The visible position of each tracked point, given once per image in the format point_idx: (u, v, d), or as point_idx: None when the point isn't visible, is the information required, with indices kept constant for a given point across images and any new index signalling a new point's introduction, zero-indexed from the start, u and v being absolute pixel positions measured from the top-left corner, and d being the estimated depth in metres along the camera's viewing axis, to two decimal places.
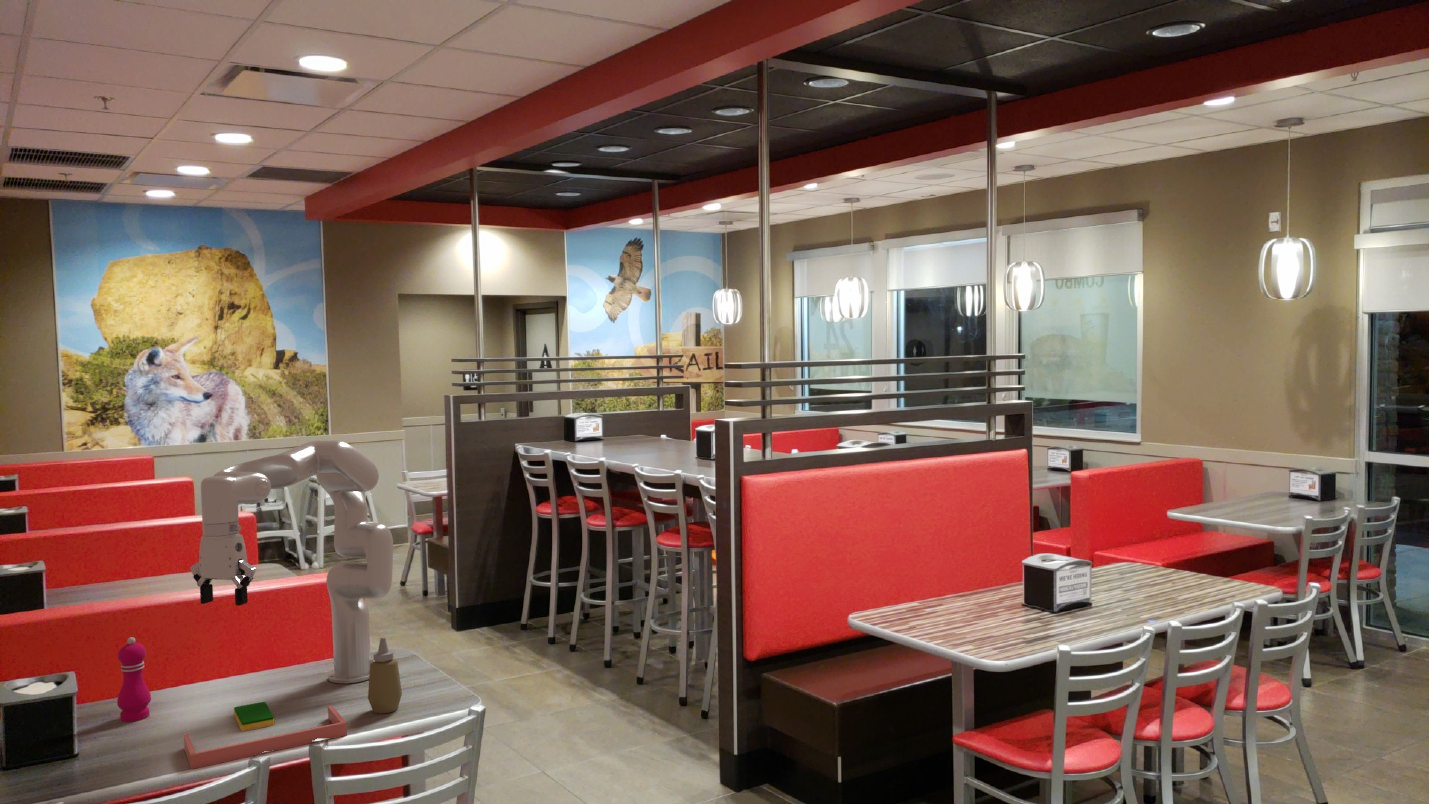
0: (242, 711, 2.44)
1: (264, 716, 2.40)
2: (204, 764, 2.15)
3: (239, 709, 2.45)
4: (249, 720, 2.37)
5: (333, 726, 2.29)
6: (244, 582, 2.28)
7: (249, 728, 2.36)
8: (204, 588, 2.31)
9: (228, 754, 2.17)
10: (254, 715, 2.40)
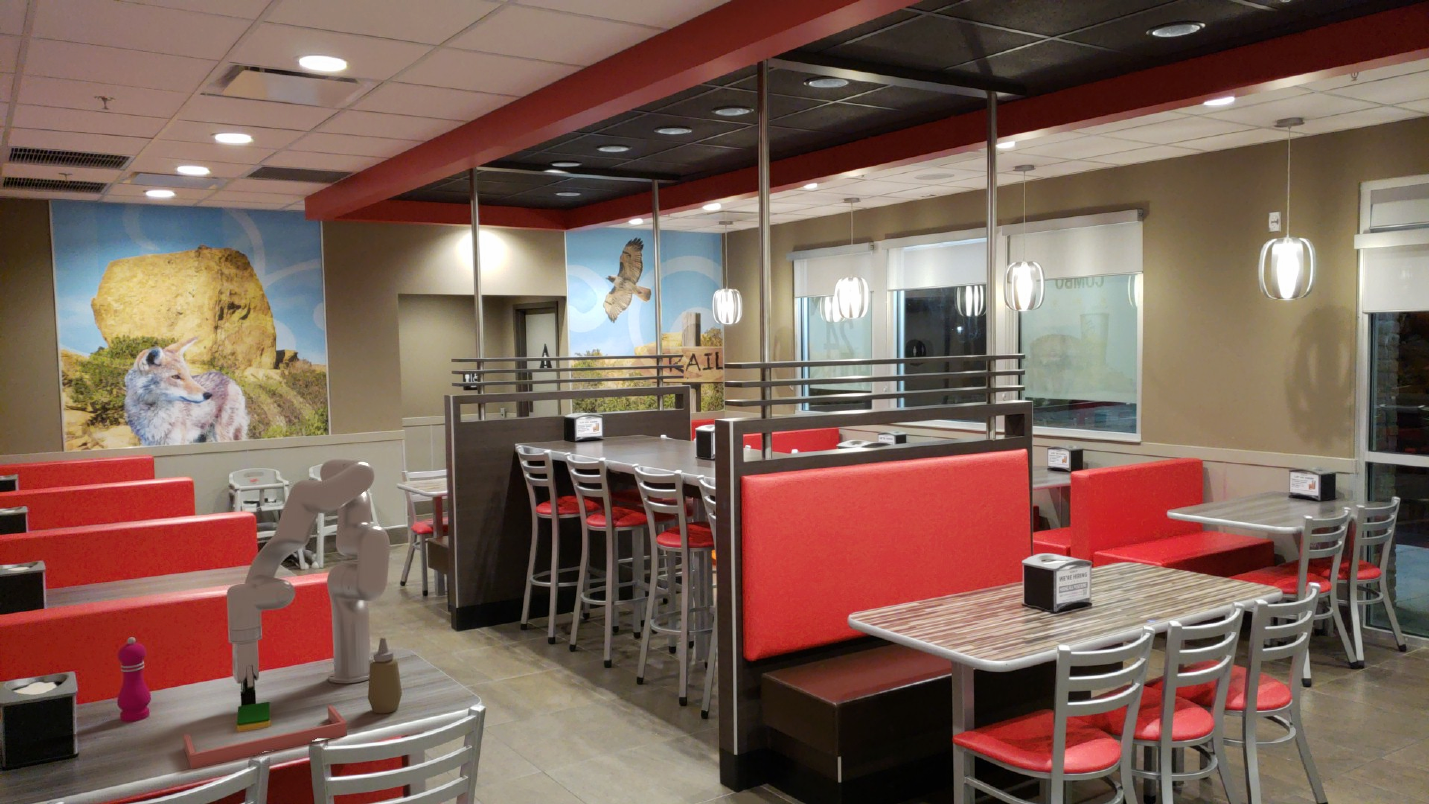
0: (243, 711, 2.44)
1: (261, 717, 2.39)
2: (204, 764, 2.15)
3: (242, 708, 2.45)
4: (245, 721, 2.36)
5: (333, 726, 2.29)
6: None
7: (244, 729, 2.36)
8: None
9: (228, 754, 2.17)
10: (252, 716, 2.40)
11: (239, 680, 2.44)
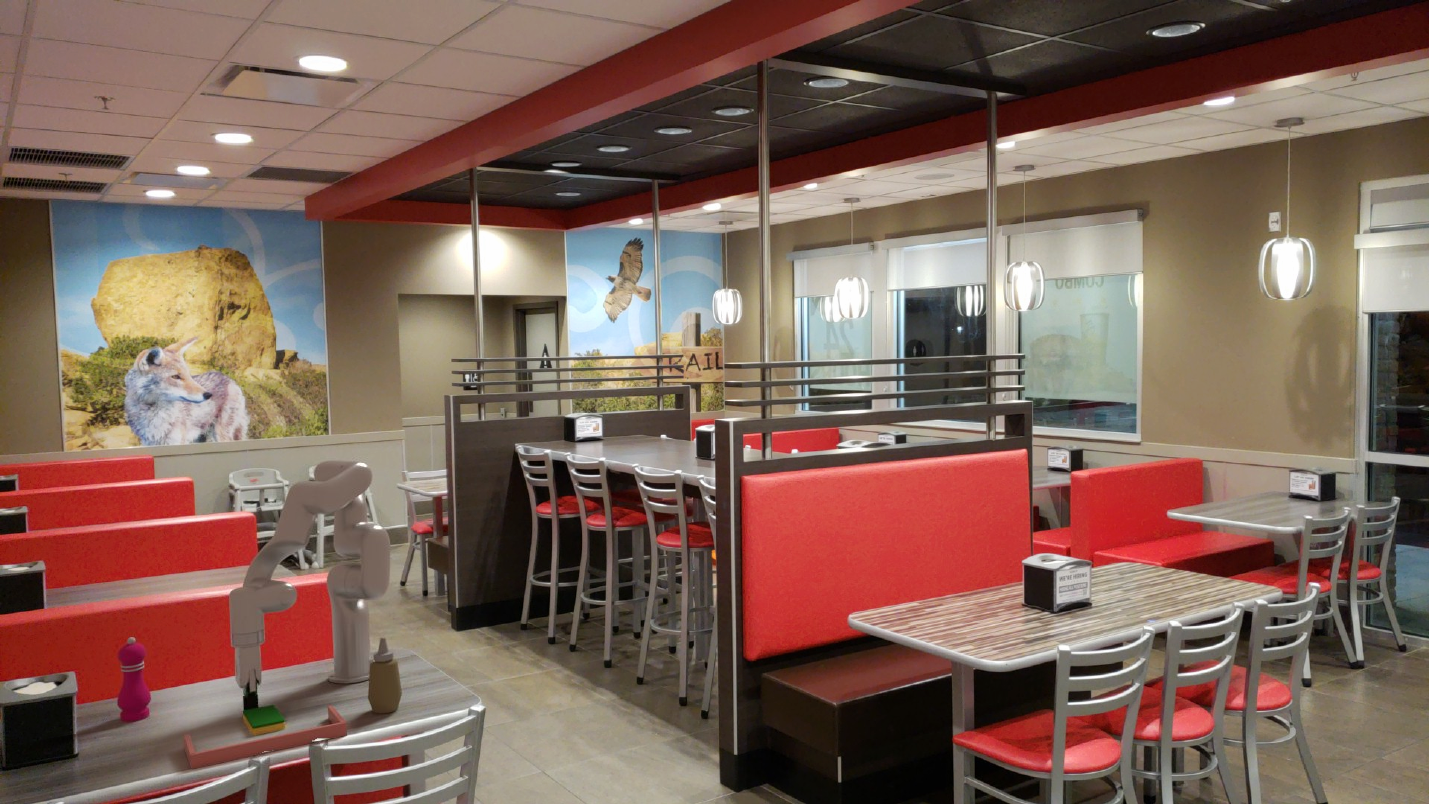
0: (252, 714, 2.40)
1: (275, 719, 2.37)
2: (204, 764, 2.15)
3: (248, 712, 2.42)
4: (260, 723, 2.34)
5: (333, 726, 2.29)
6: None
7: (260, 732, 2.33)
8: None
9: (228, 754, 2.17)
10: (264, 718, 2.37)
11: (241, 684, 2.41)
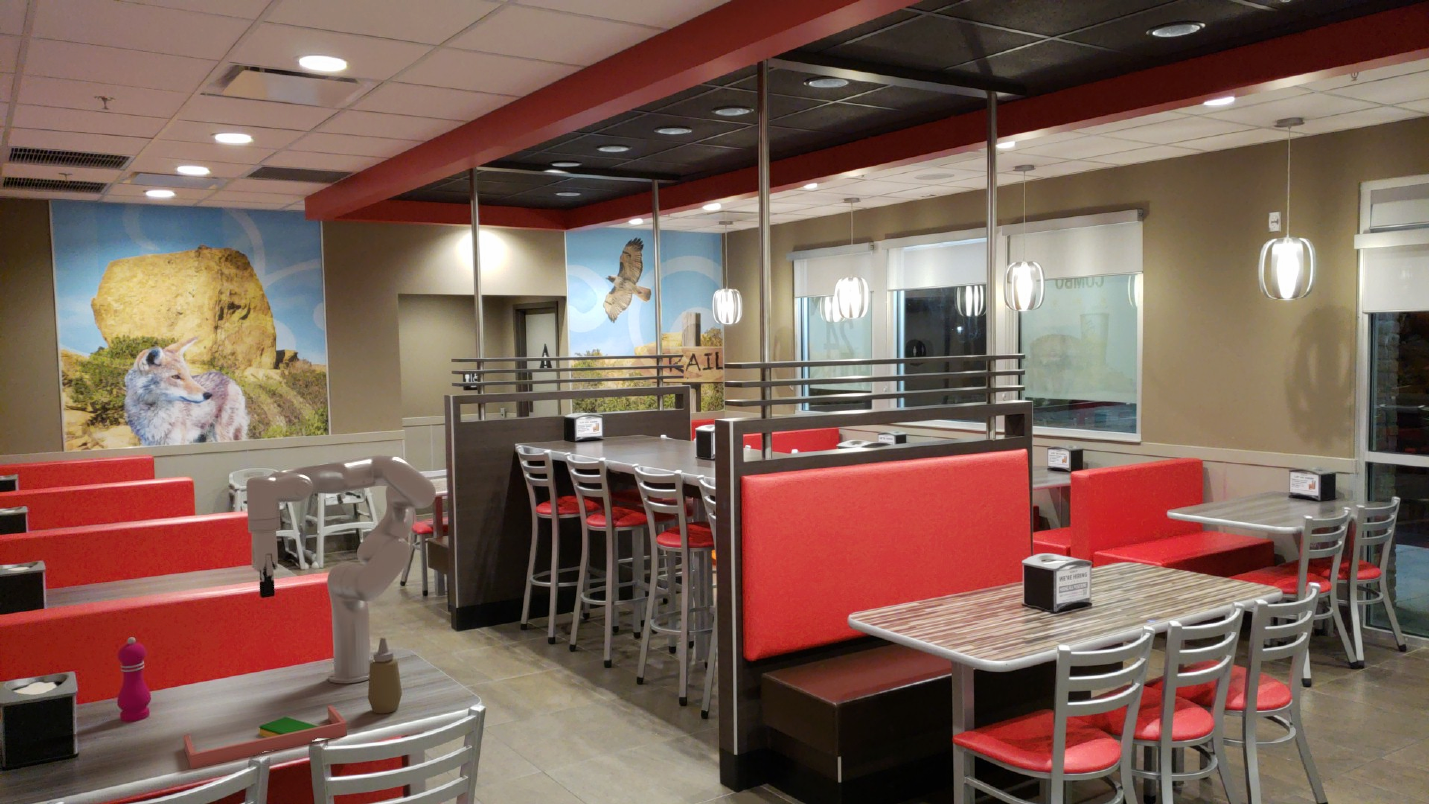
0: (276, 727, 2.32)
1: (309, 727, 2.31)
2: (204, 764, 2.15)
3: (269, 726, 2.32)
4: None
5: (333, 726, 2.29)
6: None
7: None
8: None
9: (228, 754, 2.17)
10: (296, 728, 2.30)
11: (259, 568, 2.50)
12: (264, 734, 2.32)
